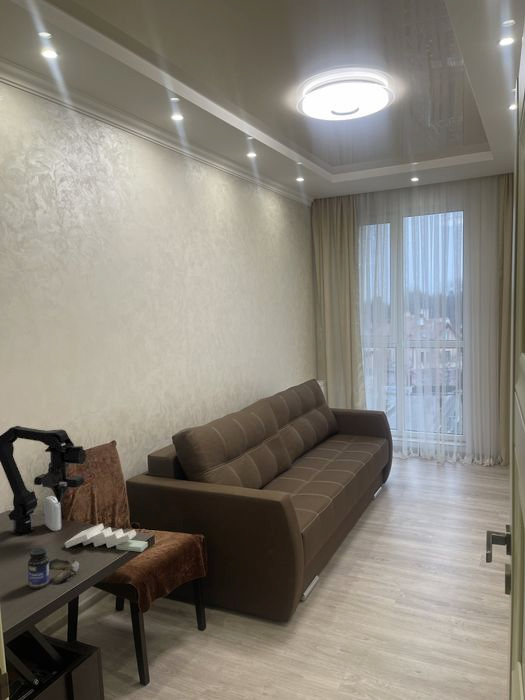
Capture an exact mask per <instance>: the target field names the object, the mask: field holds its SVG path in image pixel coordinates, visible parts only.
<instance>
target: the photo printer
mask: <svg viewBox="0 0 525 700" xmlns="http://www.w3.org/2000/svg"><path fill="white" fill-rule="evenodd" d="M43 501H44V502H43V503H44V522H45V523H44V525H45V526H46V527H47V528H48V529H49V530H50V531H52V532H57V531H60V530H61V529H62V508H61V507H62V506H61V502H60V503H59V502H58V501H57V499H56V496H55V495H54V496H53V495H50V496H46V497H45V498H44V500H43Z"/></svg>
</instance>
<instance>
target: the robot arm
mask: <svg viewBox="0 0 525 700" xmlns="http://www.w3.org/2000/svg"><path fill="white" fill-rule="evenodd" d="M18 439H23V440H29V441H34V442H40V443H42V444H44V445H45V446H48V447H47V448H46V449H45V450H44V452H46V453H50V454H49V455H50V456H49V457H50V466H48V471H47V473H41V474H39V475H37V476H35V477H34V479H33V485H35V486H36V485H37V486H42V487H43V488H49V489H51V490H52V492H53V494H54V497H55V498H56V499H57V501H58V502H59V503H60V504H61V503H62V501H63V499H64V496H65V494H66V491H67V490H68V488H73V489H74V488H78V487H80V486H82V485H84V484H85V478H84V477H83V476H81V475H79V476H78V475H77V476H76V475H74V476H71V477H70V478H69V475H70V474H69V473H67V472H68V471H67V468H68V467H69V465H70V464H71V465H83V464H85V461H86V458H87V453H86V451H85V449H84V447H83V446H82V445H79V446H78V445H77V446H76V445H75V444H74V442H73V441H72V440H71V438H70V437H69V434H68V432H67V431H66V430H64V429H50V430H45V429H44V430H43V429H37V428H30V427H24V426H20V425H15V426H12V427H9V428H8V429H7V430H6V431H5V432H4V433H2V434H1V435H0V465H1V466H2V469H3V472H4V474H5V477H6V479H7V482H8V484H9V486H10V488H11V492H12V493H13V499H12V505H13V509H12V510H11V511H10V512H9V513H8V515H7V516H8V518H9V520H10V521H13V523H12V524H13V529H12V530H11V531H10V534H12V535H17V536H19V537H21V536H23V535H26V534H29V533H30V532H33V531H35V528H33V527H32V521H31V520H32V519H31V514H32V515H33V513H34V512H35V509H36V508H37V506H38V500H39V499H38V497H37V496H36V493H35V491H34V490H32V491H30V490H28V488H27V487H26V484H25V482H24V480H23V477H22V475H21V471H20V470H19V467H18V465H17V462H16V460H15V457H14V449H15V447H14V443H15V442H16V441H17V440H18Z"/></svg>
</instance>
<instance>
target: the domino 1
mask: <svg viewBox="0 0 525 700" xmlns="http://www.w3.org/2000/svg"><path fill="white" fill-rule="evenodd" d="M104 529H105V526H104V523H99V524H97V525H94V526H92V527H89V528H87V529H85V530H81V532H78V533H77V534H76V535H74V536H72V538H70V539H68V540H67V541H65V542H64V546H65V548H66V549H68V548H71V547H74V546H76V545H78V544H81V543H82V542H83V541H86V540H88V539H90V538H91V537H93V536H94V535H95V534H97V533H98V532H100V531H102V530H104Z"/></svg>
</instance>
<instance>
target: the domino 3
mask: <svg viewBox="0 0 525 700" xmlns="http://www.w3.org/2000/svg"><path fill="white" fill-rule="evenodd" d="M124 533H125V532H124V530H123V528H119V529H117V530H115V531H112V533H110V534H109V535H108V536H106V537H105V538H102V539H100V540H97V541H95V542H92V543H93V545H94V548H95V547H96V548H98V546H102V545H104V544H106V543H107V542H110V541H113V540H116V539H118V538H119V537H120V536H121V535H123V534H124Z"/></svg>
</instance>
